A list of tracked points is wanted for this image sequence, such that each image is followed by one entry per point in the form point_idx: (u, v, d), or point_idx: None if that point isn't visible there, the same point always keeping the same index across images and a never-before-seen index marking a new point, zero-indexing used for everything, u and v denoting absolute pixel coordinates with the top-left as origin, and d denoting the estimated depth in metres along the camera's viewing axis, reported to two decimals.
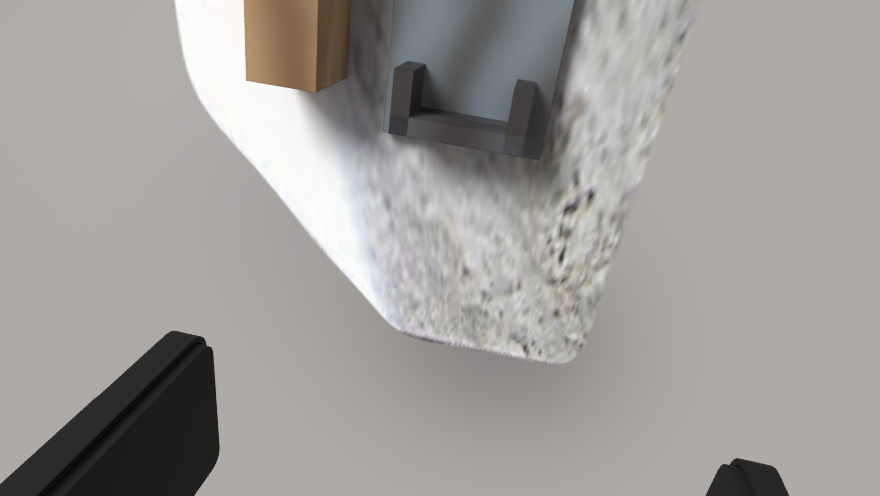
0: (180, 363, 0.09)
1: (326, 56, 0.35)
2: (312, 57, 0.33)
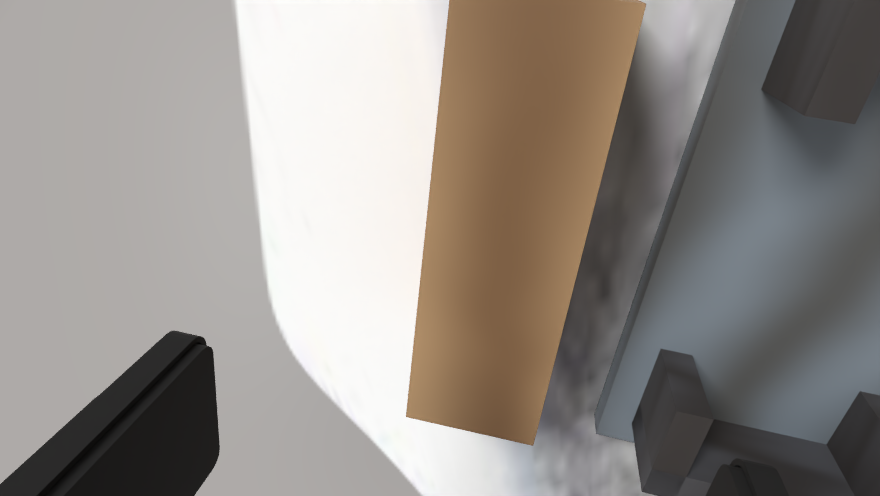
0: (180, 363, 0.09)
1: None
2: (535, 399, 0.18)
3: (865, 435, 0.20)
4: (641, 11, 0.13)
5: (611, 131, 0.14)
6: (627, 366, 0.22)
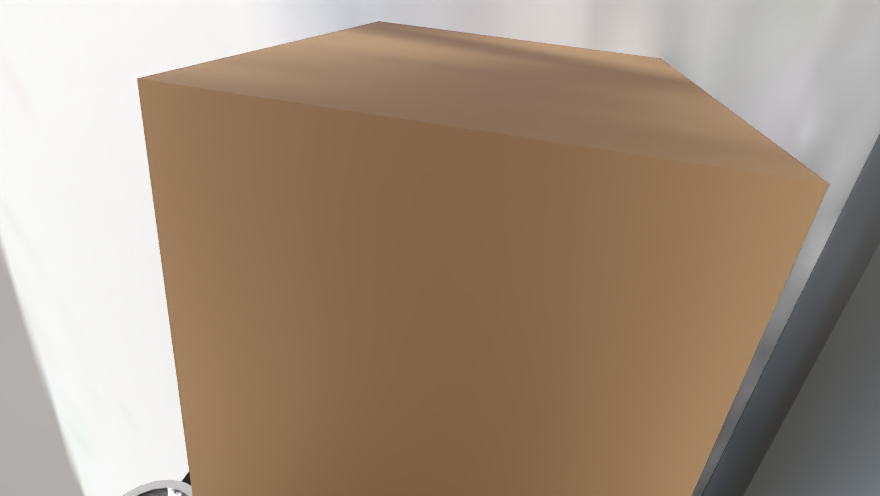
0: None
1: None
2: None
3: None
4: (805, 206, 0.03)
5: None
6: None
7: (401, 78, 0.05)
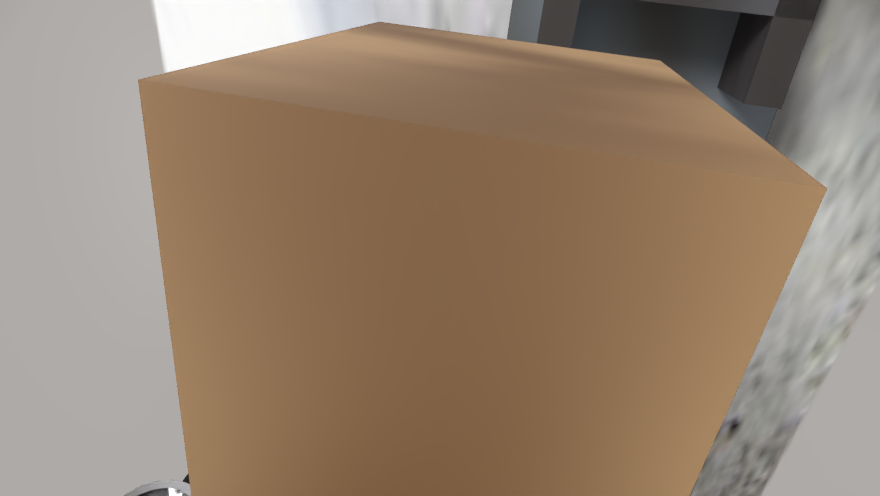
0: None
1: None
2: None
3: None
4: (803, 210, 0.03)
5: None
6: None
7: (401, 80, 0.05)
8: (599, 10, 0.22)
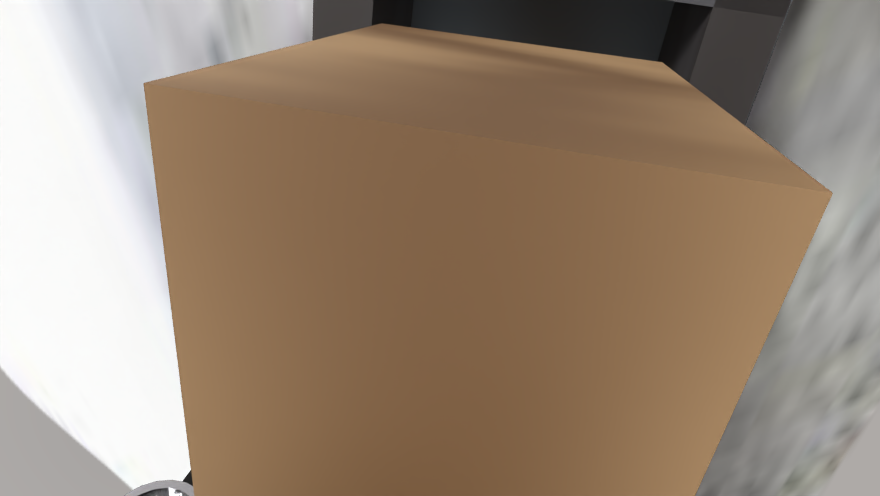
0: None
1: None
2: None
3: None
4: (808, 214, 0.03)
5: None
6: None
7: (406, 83, 0.05)
8: None
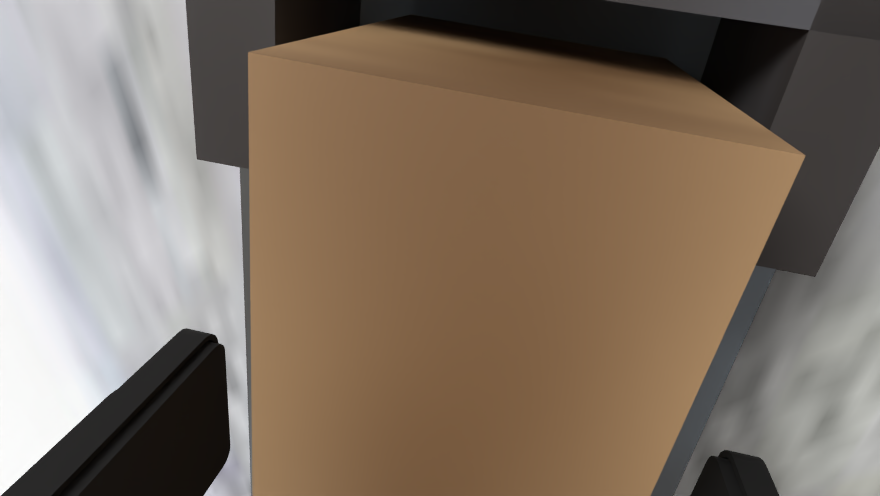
0: (193, 361, 0.09)
1: None
2: None
3: None
4: (787, 173, 0.04)
5: (670, 437, 0.06)
6: None
7: (453, 63, 0.06)
8: (413, 3, 0.10)
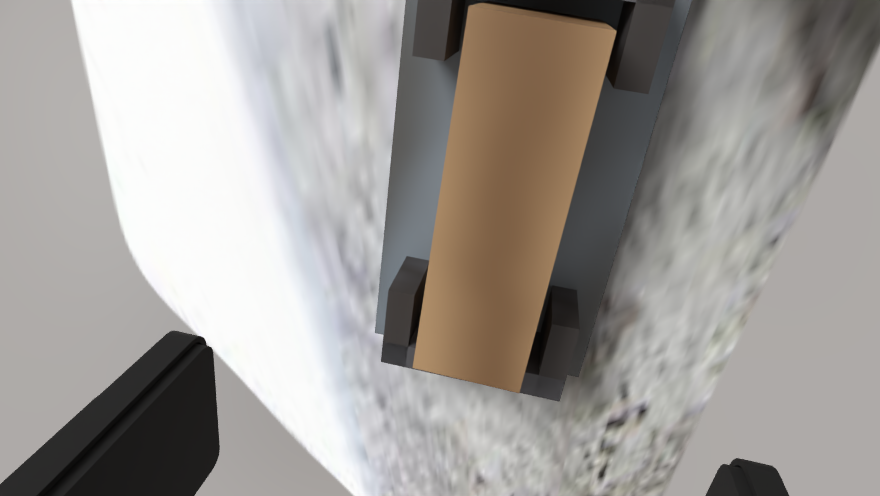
0: (180, 363, 0.09)
1: None
2: (523, 352, 0.22)
3: (547, 315, 0.26)
4: (613, 36, 0.17)
5: (589, 128, 0.18)
6: (386, 272, 0.29)
7: (520, 12, 0.18)
8: None
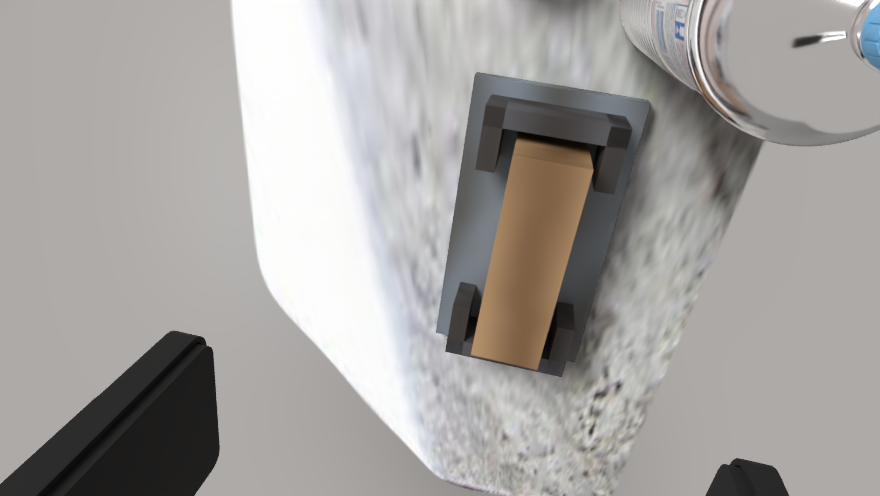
0: (180, 363, 0.09)
1: None
2: (539, 344, 0.36)
3: (554, 321, 0.41)
4: (591, 172, 0.31)
5: (578, 218, 0.32)
6: (445, 292, 0.43)
7: (540, 153, 0.32)
8: None
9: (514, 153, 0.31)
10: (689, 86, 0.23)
